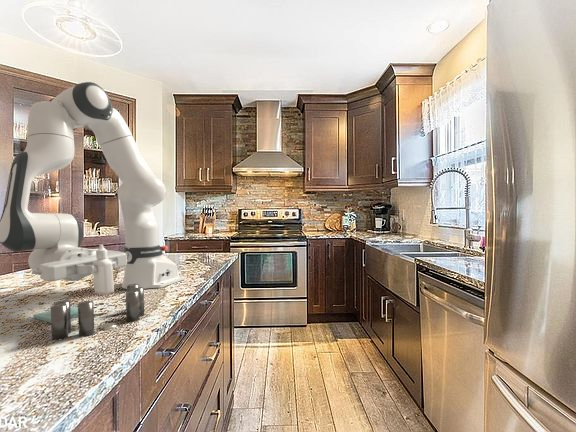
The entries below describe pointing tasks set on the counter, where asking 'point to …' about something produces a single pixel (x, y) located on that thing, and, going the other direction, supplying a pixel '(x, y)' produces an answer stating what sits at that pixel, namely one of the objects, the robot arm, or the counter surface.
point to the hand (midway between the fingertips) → (105, 267)
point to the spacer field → (92, 313)
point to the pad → (47, 315)
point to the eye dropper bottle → (103, 273)
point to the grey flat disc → (108, 326)
